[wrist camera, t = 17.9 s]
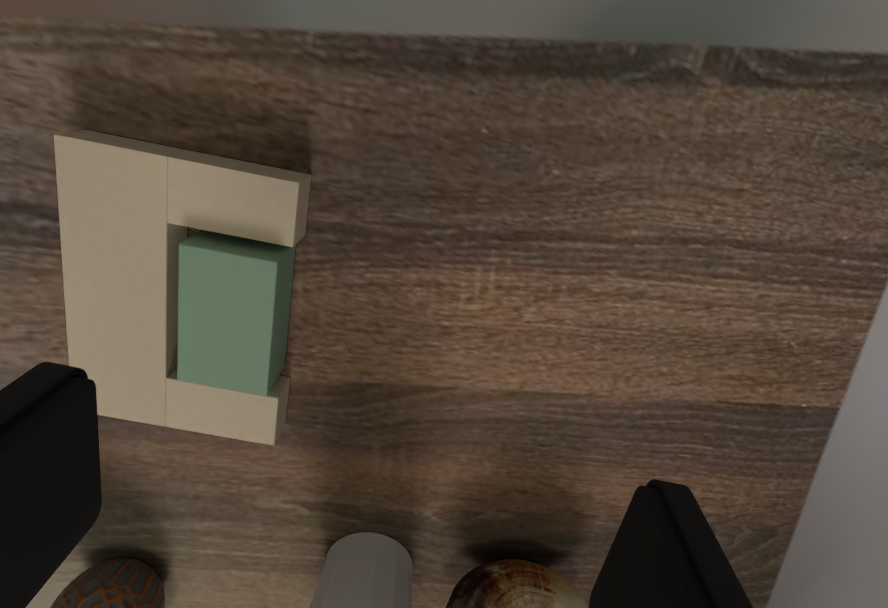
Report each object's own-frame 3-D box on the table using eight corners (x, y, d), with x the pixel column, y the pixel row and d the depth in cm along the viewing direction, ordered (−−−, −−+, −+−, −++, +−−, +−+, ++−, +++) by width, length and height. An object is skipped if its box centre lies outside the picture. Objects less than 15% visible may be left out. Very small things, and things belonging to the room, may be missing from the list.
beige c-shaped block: (85, 129, 29) (52, 133, 27) (311, 174, 30) (299, 182, 28) (97, 388, 35) (71, 410, 33) (285, 422, 36) (273, 445, 33)
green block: (207, 226, 31) (177, 243, 28) (296, 243, 31) (277, 261, 28) (203, 351, 34) (176, 380, 31) (285, 366, 34) (266, 396, 31)
